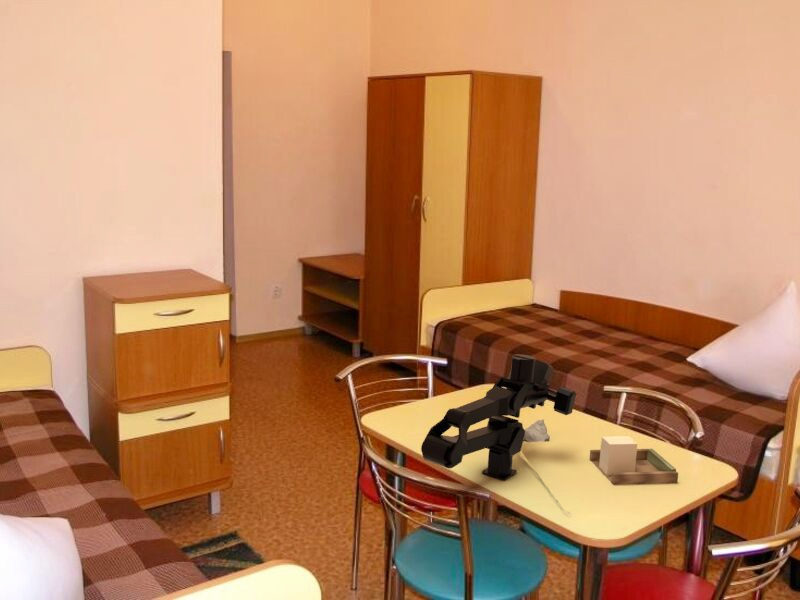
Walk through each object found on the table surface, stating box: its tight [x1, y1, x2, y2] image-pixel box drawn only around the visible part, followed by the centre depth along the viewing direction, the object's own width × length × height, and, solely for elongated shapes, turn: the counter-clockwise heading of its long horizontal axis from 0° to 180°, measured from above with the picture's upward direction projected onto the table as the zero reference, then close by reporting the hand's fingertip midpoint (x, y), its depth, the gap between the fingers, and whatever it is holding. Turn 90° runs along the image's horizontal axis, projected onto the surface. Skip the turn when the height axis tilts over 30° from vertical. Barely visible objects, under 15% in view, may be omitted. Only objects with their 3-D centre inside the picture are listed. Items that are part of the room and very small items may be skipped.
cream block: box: [599, 435, 638, 476], centre depth 191 cm, size 7×5×8 cm
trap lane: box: [589, 448, 679, 486], centre depth 192 cm, size 16×15×4 cm
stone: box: [523, 419, 550, 443], centre depth 216 cm, size 6×12×4 cm, turn 144°
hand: (556, 388), depth 207 cm, fingers open, 9 cm apart
